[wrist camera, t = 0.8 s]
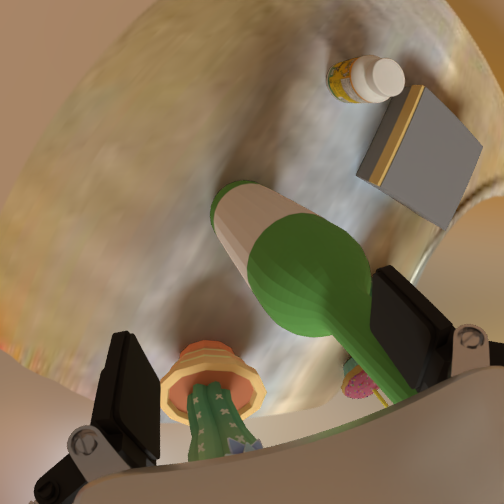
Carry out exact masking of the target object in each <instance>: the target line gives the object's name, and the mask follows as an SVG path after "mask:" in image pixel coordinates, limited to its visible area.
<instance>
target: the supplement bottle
mask: <svg viewBox="0 0 504 504" xmlns="http://www.w3.org/2000/svg"><path fill="white" fill-rule="evenodd" d="M326 83H327V87H328V89H329V91H330V93H331V94H332V96H333V97H335V98H336V99H337V100H339V101H341V102H344V103H380V102H383V101H385V100H387V99H388V98H389V97H392V96H396V95H398V94H400V93H401V92H402V90H403V88H404V85H405V77H404V73H403V71H402V69H401V67H400V66H399V65H398V63H396V62H395V61H394V60H392V59H389V58H380V57H377V56H374V55H365V56H361V57H357V58H353V59H350V60H346V61H343V62H339V63H336V64H335V65H333V66H332V67H331V68H330V70H329V72H328V74H327V78H326Z"/></svg>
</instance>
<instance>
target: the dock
mask: <svg viewBox="0 0 504 504" xmlns="http://www.w3.org/2000/svg"><path fill="white" fill-rule="evenodd" d="M482 148H483V146H482V145H481V144H480V143H479V141H478V140H477V139H476V138H475V137H474V136H473V135H472V133H471V132H470V131H469V130H468V129H467V128H466V127H465V126H464V125H463V123H462V122H461V121H460V120H459V119H458V118H457V117H456V116H455V115H454V114H453V113H452V112H451V111H450V110H449V109H448V108H447V107H446V106H445V105H444V104H443V103H442V102H441V101H440V100H439V99H438V98H437V97H436V96H435V95H434V94H433V93H432V92H431V91H430V90H429V89H427V88H426V87H424V86H423V85H412V87H404V88H403V90H402V92H401V93H400V94H398V95H396V96H393V98H392V100H391V102H390V104H389V107H388V109H387V111H386V113H385V115H384V118H383V120H382V122H381V124H380V126H379V128H378V131H377V133H376V135H375V137H374V139H373V141H372V143H371V145H370V148H369V150H368V152H367V154H366V156H365V158H364V160H363V162H362V164H361V166H360V168H359V170H358V172H357V174H356V176H357V177H359V178H361V179H362V180H364V181H366V182H367V183H369V184H371V185H372V186H374V187H376V188H377V189H379V190H381V191H382V192H384V193H385V194H387V195H389V196H390V197H392V198H393V199H395V200H397V201H398V202H400V203H401V204H403V205H404V206H406V207H407V208H409V209H410V210H412V211H413V212H415V213H416V214H418V215H419V216H421V217H423V218H425V219H426V220H428V221H430V222H431V223H433V224H435V225H437V226H438V227H440V228H442V229H443V230H445V231H446V229H447V227H448V225H449V223H450V221H451V219H452V217H453V215H454V213H455V211H456V209H457V207H458V205H459V203H460V200H461V198H462V196H463V194H464V192H465V189H466V187H467V185H468V183H469V180H470V178H471V176H472V173H473V171H474V168H475V166H476V164H477V161H478V159H479V156H480V153H481V151H482Z"/></svg>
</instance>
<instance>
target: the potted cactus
mask: <svg viewBox="0 0 504 504" xmlns="http://www.w3.org/2000/svg"><path fill="white" fill-rule="evenodd" d="M160 385H161V397H160V407H161V409H162V410H163V411H164V412H165V413H166V414H167V415H168V416H169V417H170V419H173V420H175V421H178V422H181V423H183V424H186V425H189V426H190V430H191V435H192V440H191V444H190V449H189V453H188V462H192V461H199V460H206V459H212V458H218V457H224V456H230V455H235V454H240V453H245V452H249V451H254V450H258V449H263V446H262V443H261V441H260V439H256V438H255V437H254V436H253V435H252V434H251V433H250V432H249V430H248V429H247V428H246V427H245V424H244V423H243V420H244V419H246V418H247V417H249V416H250V415H252V414H253V413H254V412H256V411H257V410H258V409H260V407H261V405H262V402H263V400H264V398H265V395H266V393H267V391H266V389H265V387H264V385H263V383H262V381H261V378H260V376H259V375H258V373H257V371H256V370H255V369H254V368H252V367H250V366H248V365H246V363H245V362H244V361H243V360H242V359H241V358H239V357H237V356H235V355H234V353H233V351H232V349H231V348H230V347H229V346H227V345H225V344H223V343H222V342H220V341H210V340H202V341H199V342H196V343H193V344H189V345H188V346H187V347H186V348H185V349H184V350H183V351H182V352H181V353H180V359H179V360H178V361H177V362H176V363H175V364H174V365H173V366H172V367H171V369H170V371H169V372H168V373H167V374H166V375H165V376H164V377H163V378H162V379H161V381H160Z"/></svg>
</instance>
